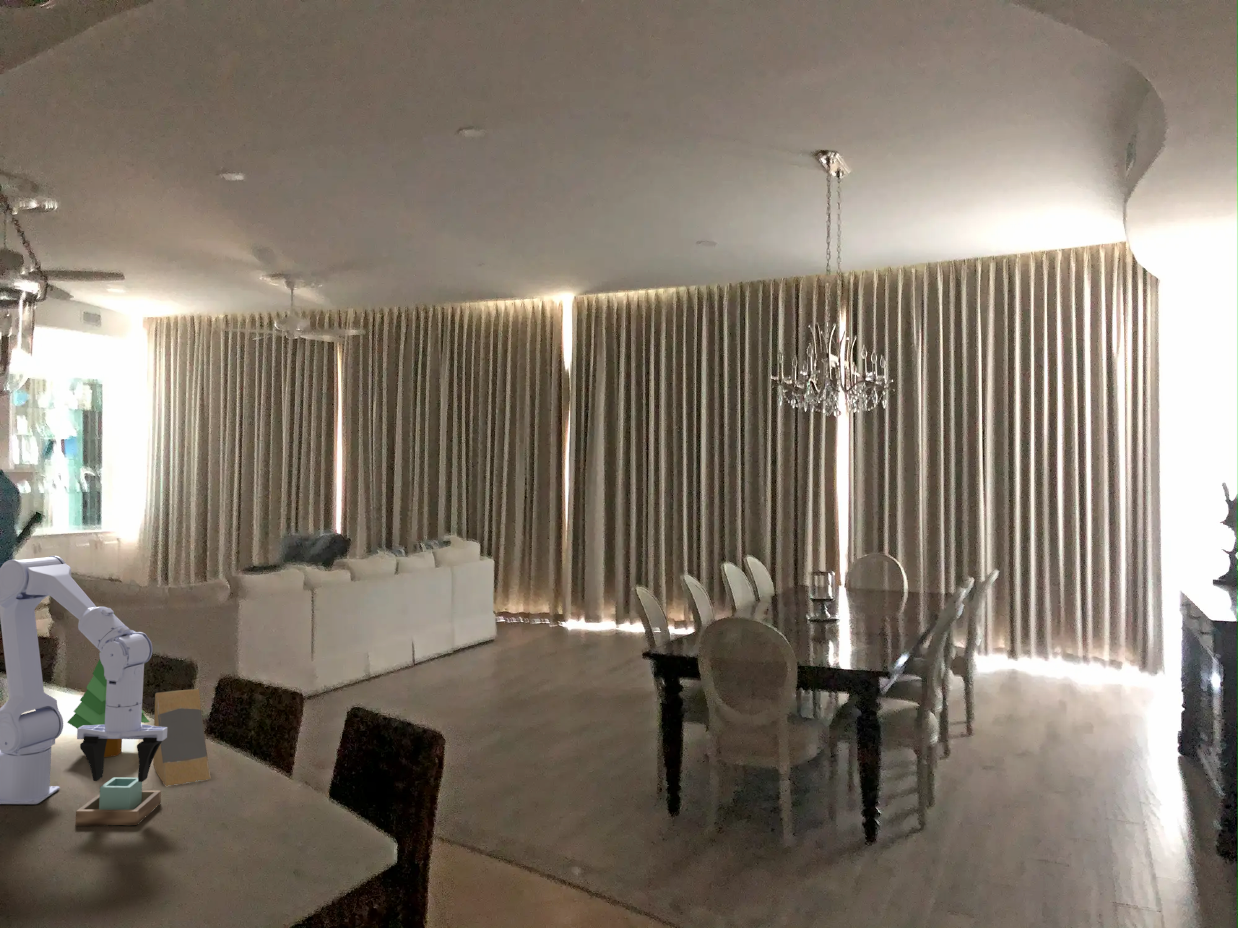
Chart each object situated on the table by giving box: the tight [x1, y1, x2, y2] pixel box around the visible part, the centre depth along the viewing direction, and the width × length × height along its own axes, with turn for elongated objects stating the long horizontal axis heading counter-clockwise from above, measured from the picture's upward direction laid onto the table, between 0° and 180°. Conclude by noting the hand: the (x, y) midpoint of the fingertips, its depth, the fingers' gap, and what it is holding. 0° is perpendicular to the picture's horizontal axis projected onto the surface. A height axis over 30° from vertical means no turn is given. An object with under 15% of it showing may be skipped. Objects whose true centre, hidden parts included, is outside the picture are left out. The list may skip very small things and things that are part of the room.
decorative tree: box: [66, 612, 150, 758], centre depth 191 cm, size 14×16×30 cm
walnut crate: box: [75, 789, 162, 827], centre depth 159 cm, size 10×10×2 cm
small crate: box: [99, 776, 143, 810], centre depth 159 cm, size 5×5×5 cm
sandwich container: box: [152, 688, 212, 787], centre depth 182 cm, size 9×15×15 cm, turn 36°
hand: (120, 779), depth 159 cm, fingers open, 7 cm apart
